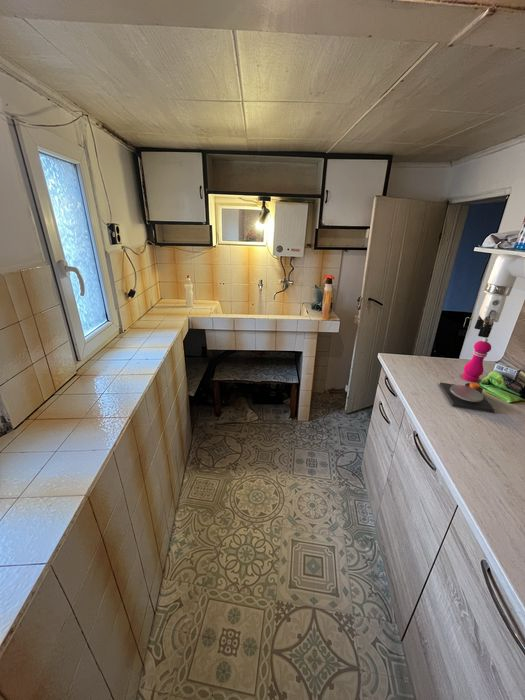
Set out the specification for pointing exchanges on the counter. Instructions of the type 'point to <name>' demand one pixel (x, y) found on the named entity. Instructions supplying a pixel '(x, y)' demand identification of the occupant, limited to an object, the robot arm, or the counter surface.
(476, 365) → the pepper mill
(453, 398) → the scale
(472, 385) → the button
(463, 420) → the counter surface
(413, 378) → the counter surface
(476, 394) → the weighing plate
